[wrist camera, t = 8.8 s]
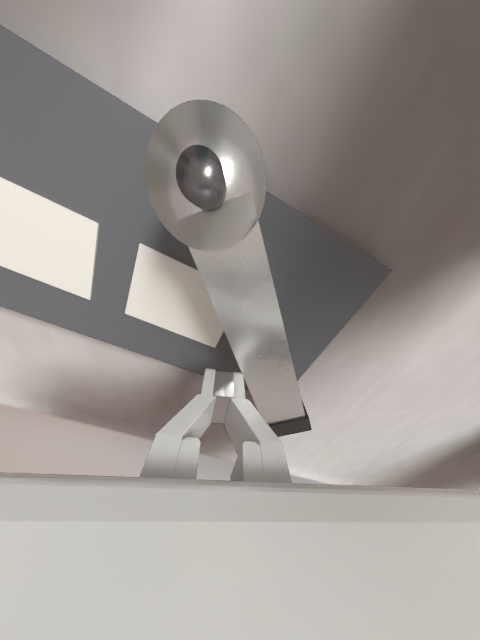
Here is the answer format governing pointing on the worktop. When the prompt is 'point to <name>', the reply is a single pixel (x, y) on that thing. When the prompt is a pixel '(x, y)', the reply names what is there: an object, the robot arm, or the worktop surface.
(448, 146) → the worktop surface
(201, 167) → the swing arm
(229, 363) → the label board
